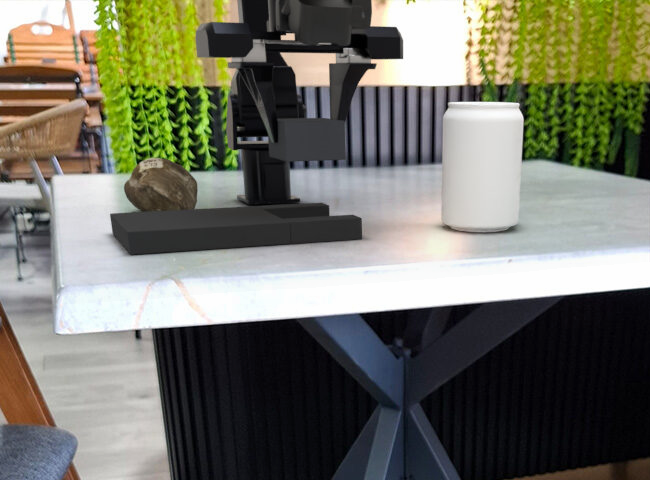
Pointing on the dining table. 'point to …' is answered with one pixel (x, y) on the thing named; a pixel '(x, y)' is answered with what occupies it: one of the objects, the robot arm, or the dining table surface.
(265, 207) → the u-shaped holder
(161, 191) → the fossilized seashell
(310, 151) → the pad
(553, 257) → the dining table surface
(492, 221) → the beverage can
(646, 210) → the dining table surface
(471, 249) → the dining table surface
